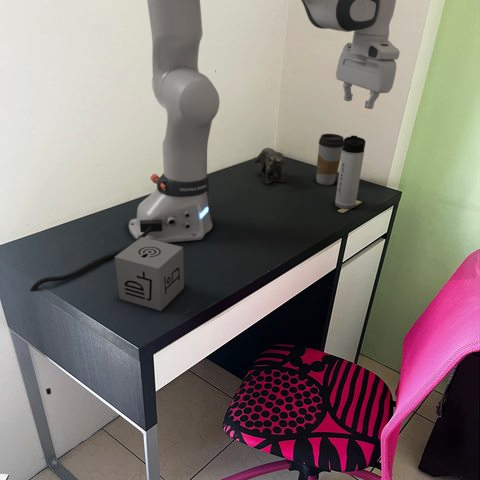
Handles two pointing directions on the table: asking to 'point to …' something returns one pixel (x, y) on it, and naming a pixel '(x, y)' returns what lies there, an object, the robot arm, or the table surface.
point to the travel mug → (350, 172)
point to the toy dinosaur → (270, 164)
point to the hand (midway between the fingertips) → (357, 104)
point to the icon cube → (150, 273)
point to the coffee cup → (329, 158)
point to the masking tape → (348, 209)
